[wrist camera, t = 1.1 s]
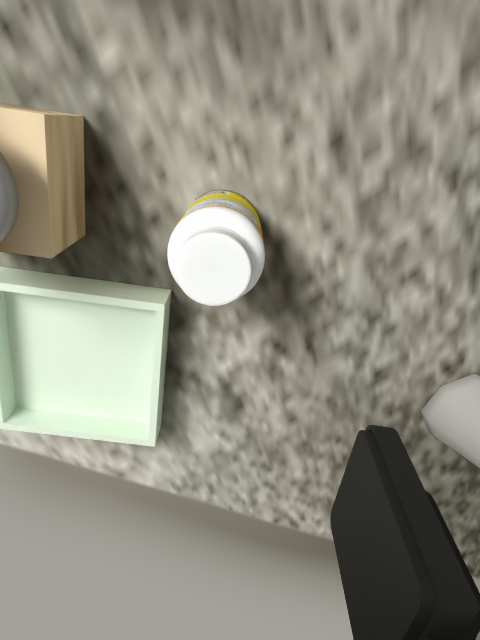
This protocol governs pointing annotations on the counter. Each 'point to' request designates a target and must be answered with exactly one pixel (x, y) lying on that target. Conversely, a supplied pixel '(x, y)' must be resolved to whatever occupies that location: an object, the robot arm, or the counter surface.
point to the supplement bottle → (217, 248)
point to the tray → (82, 356)
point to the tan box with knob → (41, 181)
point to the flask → (457, 416)
